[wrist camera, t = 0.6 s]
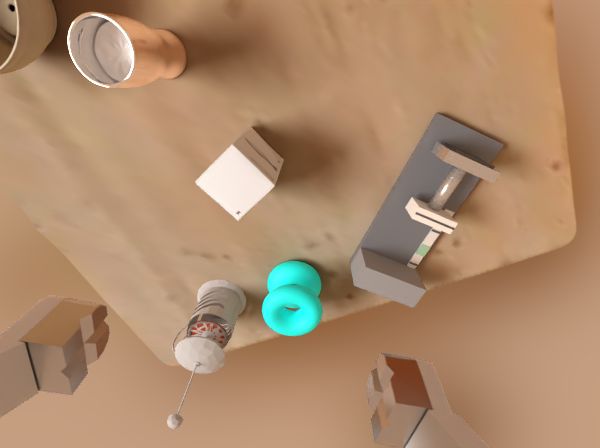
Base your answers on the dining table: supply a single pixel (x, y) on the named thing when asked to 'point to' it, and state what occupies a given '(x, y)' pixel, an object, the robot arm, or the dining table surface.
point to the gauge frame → (398, 223)
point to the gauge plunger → (458, 171)
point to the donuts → (293, 299)
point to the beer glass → (123, 51)
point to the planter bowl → (25, 32)
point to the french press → (208, 331)
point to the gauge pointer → (430, 216)
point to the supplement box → (242, 174)
